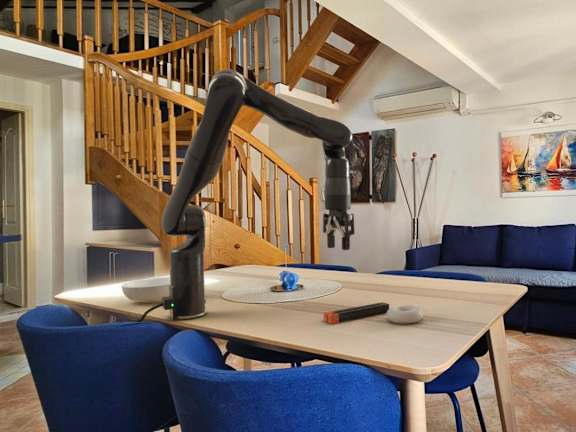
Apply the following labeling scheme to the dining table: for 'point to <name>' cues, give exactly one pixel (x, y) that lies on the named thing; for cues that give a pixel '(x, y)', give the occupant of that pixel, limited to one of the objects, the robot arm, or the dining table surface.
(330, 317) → the dark rod red tip
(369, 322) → the dining table surface
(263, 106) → the robot arm
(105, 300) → the dining table surface
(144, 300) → the serving bowl
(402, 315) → the donut
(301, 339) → the dining table surface
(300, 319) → the dining table surface
